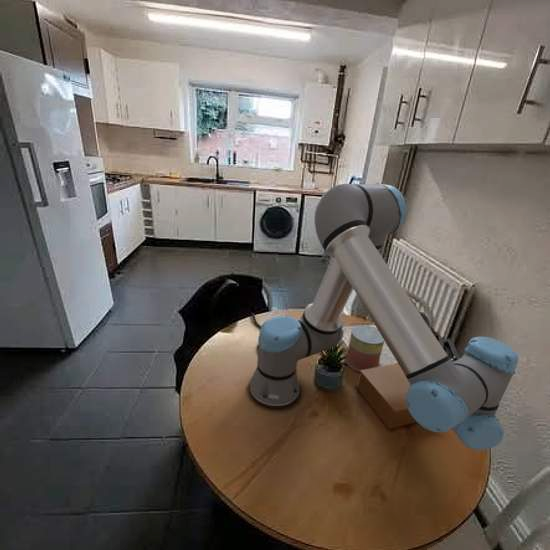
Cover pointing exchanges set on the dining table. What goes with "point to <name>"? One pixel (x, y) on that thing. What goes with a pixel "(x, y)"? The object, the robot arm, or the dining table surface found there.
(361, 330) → the canned food
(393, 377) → the takeaway box
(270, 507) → the dining table surface
